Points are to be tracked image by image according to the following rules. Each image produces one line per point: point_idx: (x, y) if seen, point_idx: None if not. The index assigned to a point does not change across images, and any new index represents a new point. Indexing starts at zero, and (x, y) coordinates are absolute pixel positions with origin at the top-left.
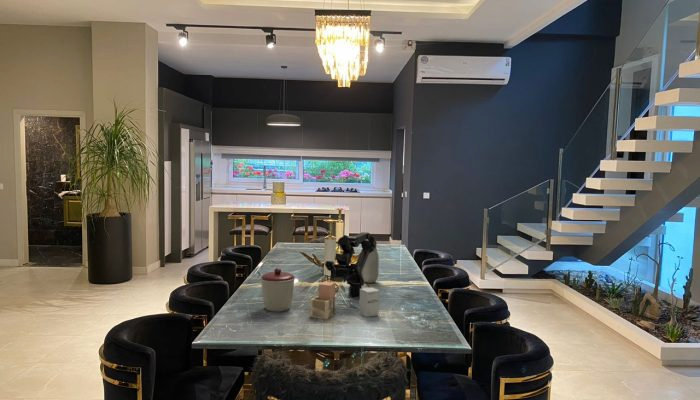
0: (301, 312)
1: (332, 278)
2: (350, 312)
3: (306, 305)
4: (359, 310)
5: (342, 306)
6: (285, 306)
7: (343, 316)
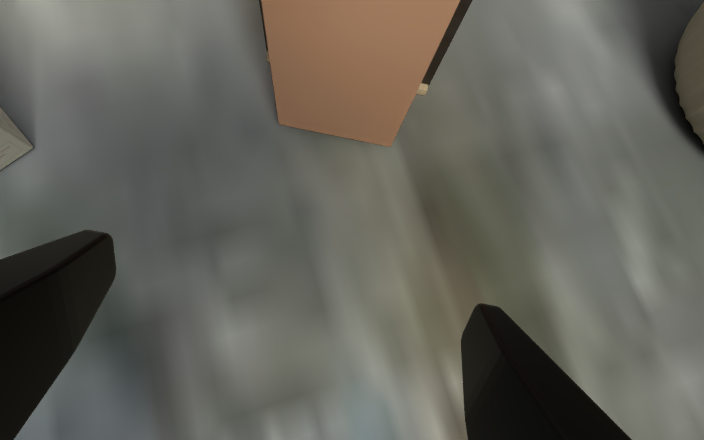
0: (545, 58)
1: (476, 366)
2: (129, 151)
3: (595, 250)
4: (15, 133)
5: (248, 321)
6: (699, 10)
7: (176, 34)
